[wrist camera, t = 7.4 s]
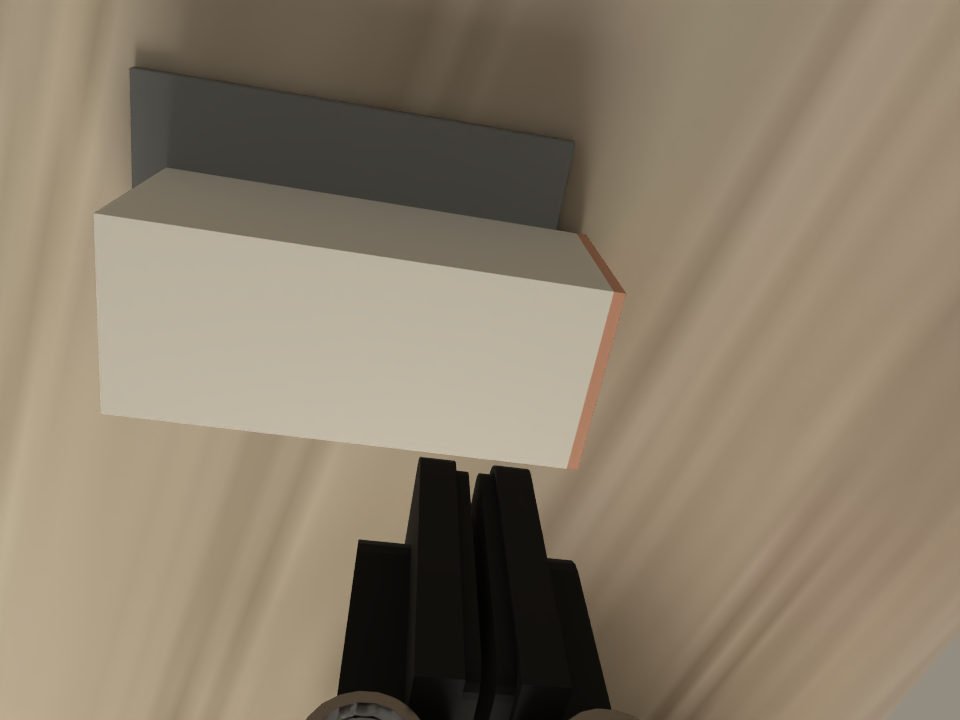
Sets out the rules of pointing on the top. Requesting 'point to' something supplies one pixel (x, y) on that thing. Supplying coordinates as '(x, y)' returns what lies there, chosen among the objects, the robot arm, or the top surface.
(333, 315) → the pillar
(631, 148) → the top surface
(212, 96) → the mat
